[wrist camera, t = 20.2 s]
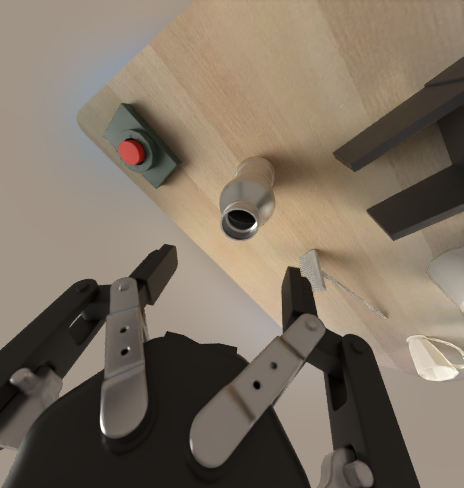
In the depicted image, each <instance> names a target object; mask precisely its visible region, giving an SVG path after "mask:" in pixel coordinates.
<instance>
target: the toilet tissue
mask: <svg viewBox="0 0 464 488" xmlns="http://www.w3.org/2000/svg"><path fill="white" fill-rule="evenodd" d="M427 274H428V275H429V277H430V278H431V279H432V281H433V282H434V283H435V284H436V285H437V286H438V287H439V288H440V289H441V290H442V291H443V292H444V293H445V294H446V295H447V297H448V298H449V299H450V300H451V301H452V302H453V303H454V304H455V305H456V306H457V307H458V308H459V309H460V310H461V311H462V312H463V313H464V247H461V248H456V249H452V250H448V251H446V252H445V253H443V254H441V255H440V256H438V257H437V258H435V259H434V260H432V261H431V263H430V266H429V268H428V270H427Z"/></svg>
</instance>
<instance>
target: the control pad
mask: <svg viewBox="0 0 464 488" xmlns="http://www.w3.org/2000/svg"><path fill="white" fill-rule="evenodd" d="M104 137H105V138H106V139H107V140H108V141H109V142H110V143H111V144H112V145H113V146H114V147H115V148H116V150H117V153H118V155H119V157H120V159H121V161H122V162H123V163H124V164H125V165H126V166H127V167H128V168H129V169H131V170H134V171H136V172H140V173H141V174H142V175H143V176H144V177H145V178H146V179H147V180H148V181H149V182H150V183H151V184H152V185H153V186H154V187H155V188H156V189H157V188H158V187H160V186H161V185H162V184H163V183H164V182H165V181H166V180H167V179H168V178H169V176H170V175H171V174H172V173H173V172H174V171H175V170H176V169H177V168H178V166H179V165H180V164H181V163H182V162H181V161H180V160H179V159H178V158H177V156H176V155H175V154H174V153H173V152H172V151H171V150H170V149H169V147H168V146H167V145H166V144H165V143H164V142H163V141H162V140H161V138H160V137H159V136H158V135H157V134H156V133H155V132H154V131H153V129H152V128H151V127H150V126H149V125H148V124H147V123H146V122H145V120H144V119H143V118H142V117H141V116H140V115H139V114H138V113H137V112H136V110H135V109H134V108H133V107H132V106H131V105H130V104H125V103H121V104H120V106H119V108H118V110H117V112H116V114H115V115H114V117H113V119H112V121H111V123H110V125H109V126H108V128H107V130H106V132H105V134H104ZM128 140H135V141H137V142H139V143H140V144H141V145H142V147H143V148H144V151H145V159H144V161H143V162H141V163H138V164H135V165H131V164H128V163H126V162H125V161H124V160H123V159H122V157H121V155H120V153H119V146H120V144H121V143H122V142H123V141H128Z"/></svg>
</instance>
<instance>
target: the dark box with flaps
mask: <svg viewBox="0 0 464 488" xmlns="http://www.w3.org/2000/svg"><path fill="white" fill-rule="evenodd" d="M424 86H425V88H423V89H422V90H420V91H419V92H417V93H416V94H415V95H413V96H412V97H410V98H409V99H408V100H406V101H405V102H403V103H402V104H401V105H399V106H398V107H396V108H395V109H394V110H392V111H391V112H389V113H388V114H386V115H385V116H384V117H382V118H381V119H379V120H378V121H377V122H375V123H374V124H372V125H371V126H370V127H368V128H367V129H365V130H364V131H363V132H361V133H360V134H358V135H357V136H356V137H354V138H353V139H351V140H350V141H349V142H347V143H346V144H344V145H343V146H342V147H340V148H339V149H337V150H336V151H335V152H333V154H334V156H335V158H336V159H337V160H339V161H340V162H341V163H343V164H344V165H346V166H347V167H348V168H350V169H351V170H353V171H354V172H356V171H358V170H359V169H361V168H362V167H364V166H366V165H367V164H369V163H370V162H372V161H374V160H375V159H377V158H378V157H380V156H382V155H383V154H385V153H386V152H388V151H390V150H391V149H393V148H394V147H396V146H398V145H399V144H401V143H402V142H404V141H406V140H407V139H409V138H410V137H412V136H414V135H415V134H417V133H418V132H420V131H421V130H423V129H425V128H426V127H428V126H429V125H431V124H433V123H434V122H436V121H437V122H438V125H439V128H440V131H441V133H442V136H443V139H444V142H445V145H446V147H447V150H448V153H449V156H450V159H451V161H452V164H453V165H451V166H450V167H448V168H446V169H444V170H442V171H440V172H438V173H436V174H434V175H432V176H430V177H428V178H426V179H425V180H423V181H421V182H419V183H417V184H415V185H413V186H411V187H409V188H407V189H405V190H403V191H402V192H400V193H398V194H396V195H394V196H392V197H390V198H388V199H386V200H384V201H382V202H380V203H379V204H377V205H375V206H373V207H371V208H369V209H367V210H366V211H367V212H368V214H369V215H370V217H371V218H372V219H373V220H374V221H375V222H376V223H377V224H378V225H379V226H380V227H381V228H382V229H383V230H384V231H385V233H386V234H387V235H388V236H389V237H390V238H391V239H392V240H393V241H395V240H397V239H399V238H402V237H404V236H407V235H409V234H411V233H414V232H416V231H418V230H421V229H423V228H426V227H428V226H430V225H433V224H435V223H437V222H440V221H442V220H445V219H447V218H449V217H452V216H454V215H456V214H459V213H461V212H464V57H462V58H461V59H460V60H458V61H457V62H455V63H454V64H453V65H451V66H450V67H448V68H447V69H446V70H444V71H443V72H441V73H440V74H439V75H437V76H436V77H435V78H433V79H432V80H430V81H429V82H428V83H426V84H425V85H424Z"/></svg>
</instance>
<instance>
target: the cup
mask: <svg viewBox="0 0 464 488" xmlns="http://www.w3.org/2000/svg"><path fill="white" fill-rule="evenodd" d="M430 340H432V341H437V342H440V343H443V344H446V345H449V346H451V347H454V348H456V349H457V350H458V351H459V352H460V353H461V354H462V356H463V358H464V353H463V352H462V350H461V349H459V348H458V347H457V346H455V345H453V344H451V343H449V342H446V341H443V340H439V339H435V338H426V337H425V336H424V335H413V336H410V337H408V339H407V340H406V341H407V342H408V343H409V345H408V346H409V349H410V353H411V356H412V359H413V361H414V364H415V367H416V369H417V372H418V374H419V375H420V376H421V377H423V378H424V379H425V380H433V381H444V380H449V379H453V378H454V377H455V376H456V375H457V374H458V373H459V372H458V371H457V370H456V369H462V368H464V364H462V365H454V364H451V363H450V362H449V361H448V360H447V359H446V358H445V357H444V355H443V354H442V353H441V352H440V351H439V350H438V349H437V348H436V347H435V346H434V345H433V344H432V343H430V342H429V341H430Z"/></svg>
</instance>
